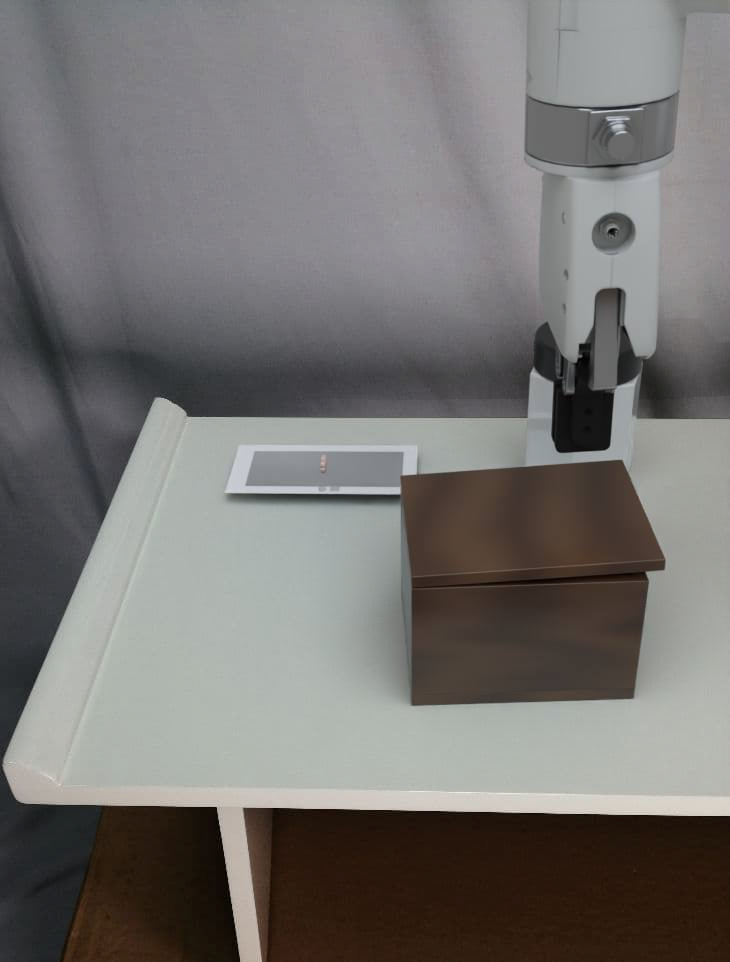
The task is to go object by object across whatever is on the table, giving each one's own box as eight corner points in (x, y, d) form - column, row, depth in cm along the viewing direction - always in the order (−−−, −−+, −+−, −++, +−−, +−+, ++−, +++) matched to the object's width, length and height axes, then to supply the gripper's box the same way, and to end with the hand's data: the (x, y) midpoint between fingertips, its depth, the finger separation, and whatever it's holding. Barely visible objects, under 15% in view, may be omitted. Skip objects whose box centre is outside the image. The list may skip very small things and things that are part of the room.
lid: (621, 469, 76) (622, 458, 76) (665, 571, 67) (666, 559, 66) (400, 485, 77) (400, 474, 77) (411, 588, 67) (410, 577, 67)
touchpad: (240, 456, 99) (238, 433, 98) (417, 457, 98) (417, 434, 97) (225, 504, 93) (223, 481, 92) (415, 506, 92) (415, 482, 90)
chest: (597, 588, 82) (608, 478, 77) (633, 698, 72) (649, 580, 67) (401, 594, 82) (400, 486, 77) (411, 705, 72) (411, 589, 67)
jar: (611, 442, 99) (625, 307, 92) (650, 490, 92) (668, 349, 85) (508, 455, 98) (515, 319, 91) (540, 504, 91) (549, 362, 84)
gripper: (715, 164, 53) (675, 508, 63) (640, 89, 66) (617, 386, 76) (549, 176, 54) (536, 516, 64) (505, 98, 66) (500, 393, 76)
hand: (580, 444), depth 70 cm, fingers closed
